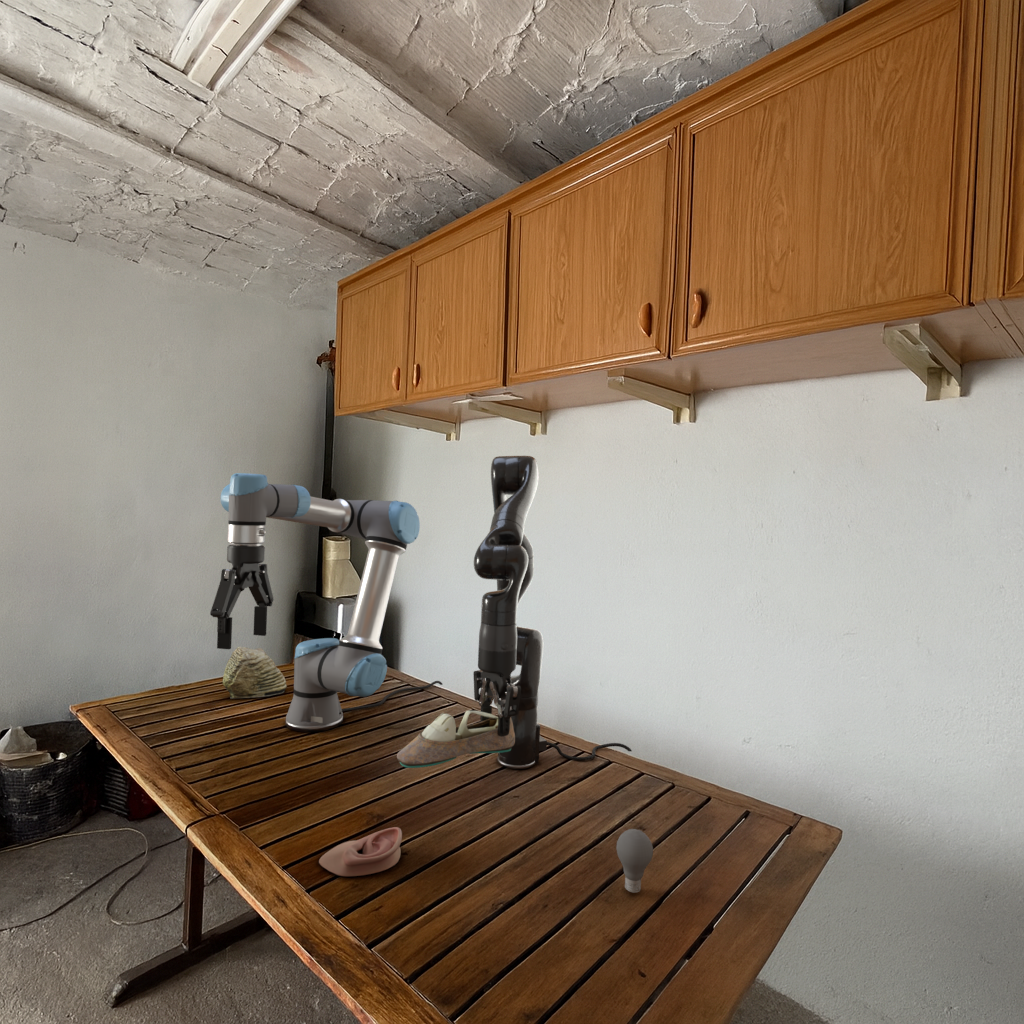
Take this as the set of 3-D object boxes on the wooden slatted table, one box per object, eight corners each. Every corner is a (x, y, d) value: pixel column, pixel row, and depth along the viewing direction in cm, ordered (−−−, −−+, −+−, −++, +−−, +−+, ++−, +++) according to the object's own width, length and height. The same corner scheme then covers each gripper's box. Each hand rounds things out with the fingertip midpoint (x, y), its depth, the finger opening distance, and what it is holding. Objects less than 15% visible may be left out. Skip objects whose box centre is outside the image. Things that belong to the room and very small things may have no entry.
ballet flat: (387, 757, 118) (390, 713, 117) (497, 737, 132) (500, 697, 131) (407, 775, 111) (410, 729, 111) (521, 752, 125) (524, 710, 125)
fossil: (218, 695, 195) (220, 647, 195) (278, 685, 208) (279, 640, 207) (228, 703, 189) (230, 653, 188) (289, 692, 201) (290, 645, 201)
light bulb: (610, 879, 108) (613, 822, 108) (644, 879, 109) (647, 822, 109) (619, 902, 102) (622, 840, 102) (655, 901, 103) (658, 840, 103)
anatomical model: (310, 847, 107) (342, 815, 118) (309, 871, 107) (341, 836, 118) (384, 860, 104) (409, 825, 116) (383, 884, 104) (408, 847, 116)
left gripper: (228, 549, 125) (224, 656, 125) (290, 541, 149) (287, 631, 150) (193, 547, 126) (189, 653, 126) (261, 540, 151) (258, 629, 151)
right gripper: (534, 651, 121) (531, 739, 121) (494, 636, 133) (490, 715, 133) (501, 655, 117) (498, 746, 117) (463, 639, 128) (459, 721, 129)
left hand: (242, 641), depth 138 cm, fingers open, 13 cm apart
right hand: (494, 729), depth 125 cm, fingers closed on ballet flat, 5 cm apart
